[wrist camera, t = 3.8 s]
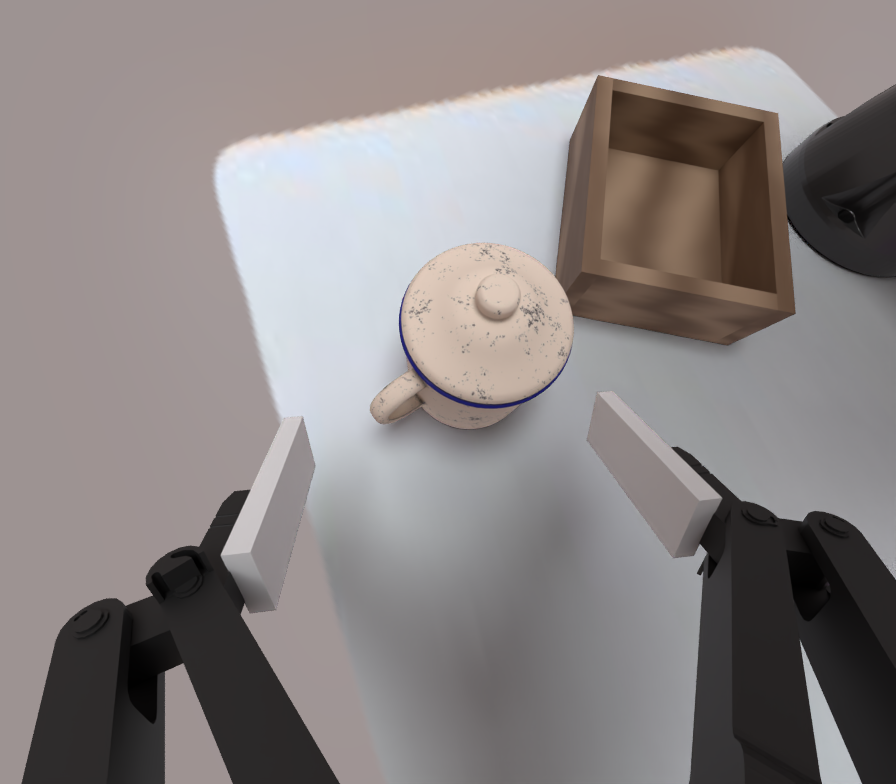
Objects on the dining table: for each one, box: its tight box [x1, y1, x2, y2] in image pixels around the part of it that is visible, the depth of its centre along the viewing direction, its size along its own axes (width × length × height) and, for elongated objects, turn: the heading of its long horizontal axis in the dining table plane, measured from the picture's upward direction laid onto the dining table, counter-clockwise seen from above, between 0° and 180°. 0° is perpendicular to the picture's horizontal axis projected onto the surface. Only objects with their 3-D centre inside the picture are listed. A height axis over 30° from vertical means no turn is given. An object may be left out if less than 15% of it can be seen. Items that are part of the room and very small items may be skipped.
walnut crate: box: [555, 75, 796, 345], centre depth 29 cm, size 14×17×6 cm
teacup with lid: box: [370, 243, 574, 429], centre depth 21 cm, size 12×9×12 cm
